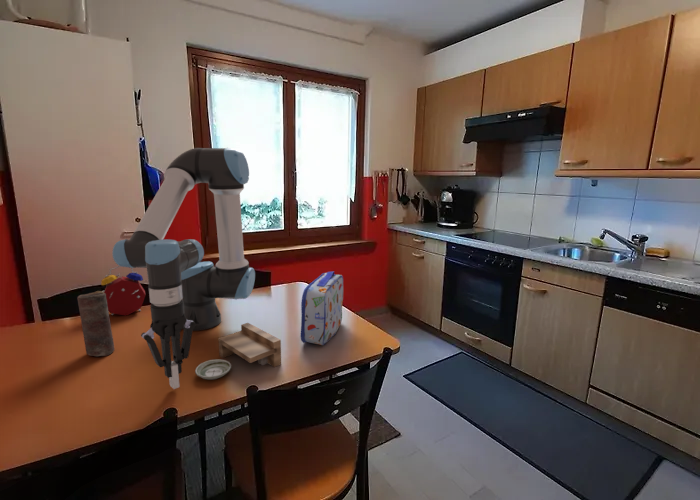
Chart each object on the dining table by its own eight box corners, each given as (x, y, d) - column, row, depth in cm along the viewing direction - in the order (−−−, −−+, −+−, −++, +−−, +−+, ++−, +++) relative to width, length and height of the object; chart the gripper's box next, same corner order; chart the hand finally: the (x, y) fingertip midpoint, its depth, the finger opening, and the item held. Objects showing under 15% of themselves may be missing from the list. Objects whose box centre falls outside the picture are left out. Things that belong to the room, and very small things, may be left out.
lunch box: (320, 317, 148) (320, 264, 143) (345, 320, 146) (346, 266, 141) (297, 349, 121) (296, 285, 117) (327, 352, 119) (327, 288, 115)
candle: (83, 361, 111) (74, 298, 107) (87, 350, 118) (79, 291, 114) (113, 355, 115) (105, 294, 111) (115, 345, 121) (108, 287, 117)
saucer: (196, 387, 99) (196, 379, 99) (194, 370, 108) (194, 362, 107) (233, 380, 103) (233, 372, 103) (229, 363, 112) (228, 356, 111)
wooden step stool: (219, 355, 116) (218, 332, 114) (248, 344, 123) (247, 322, 122) (251, 377, 104) (249, 351, 102) (281, 364, 111) (280, 339, 110)
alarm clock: (146, 307, 155) (141, 261, 151) (147, 314, 148) (142, 266, 144) (104, 314, 147) (98, 265, 143) (103, 321, 140) (97, 270, 136)
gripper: (144, 312, 85) (153, 402, 90) (199, 299, 94) (204, 381, 99) (133, 304, 90) (142, 390, 95) (186, 292, 99) (192, 371, 104)
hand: (174, 385), depth 97 cm, fingers closed
